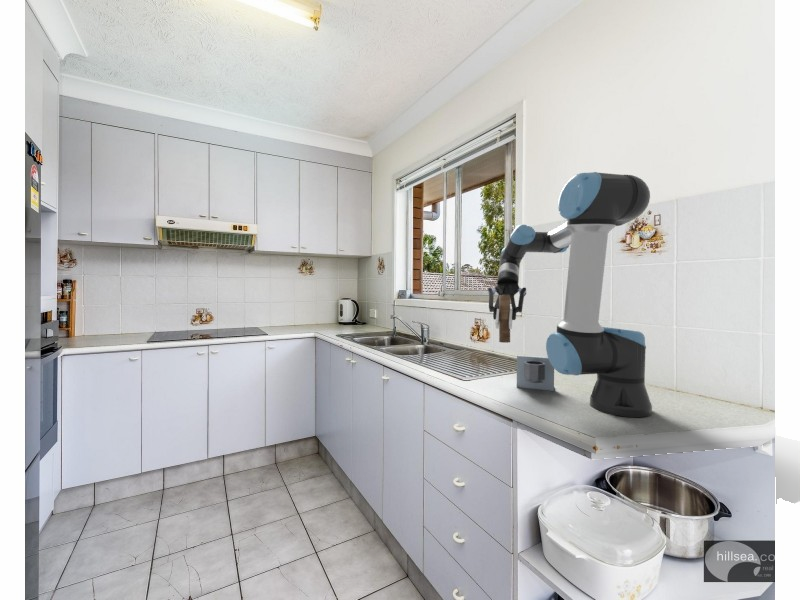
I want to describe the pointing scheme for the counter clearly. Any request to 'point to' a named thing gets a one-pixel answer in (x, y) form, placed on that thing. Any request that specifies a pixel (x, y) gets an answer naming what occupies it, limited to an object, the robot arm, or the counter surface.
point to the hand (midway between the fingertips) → (503, 325)
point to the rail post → (504, 318)
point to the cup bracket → (534, 371)
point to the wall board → (525, 384)
